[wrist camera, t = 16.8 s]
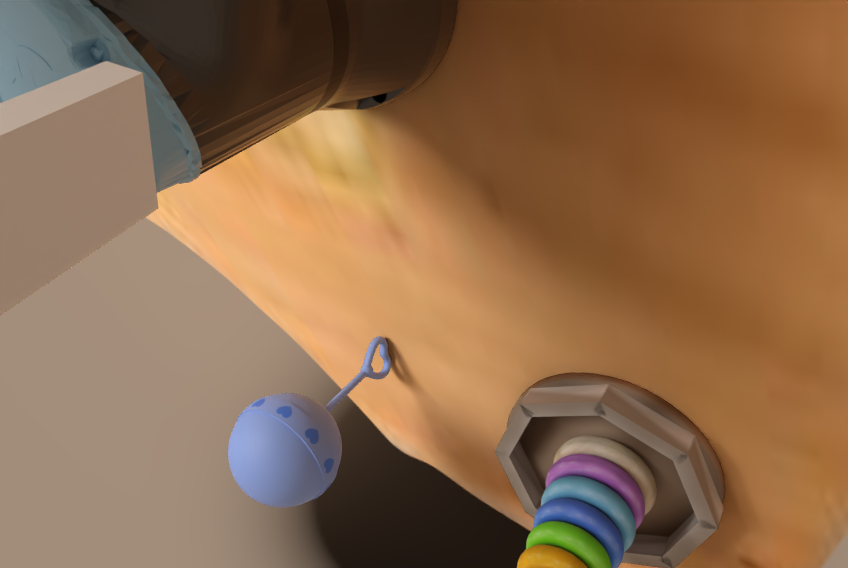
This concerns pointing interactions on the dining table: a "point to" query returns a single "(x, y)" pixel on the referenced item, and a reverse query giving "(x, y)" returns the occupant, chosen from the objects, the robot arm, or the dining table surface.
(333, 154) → the dining table surface
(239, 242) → the dining table surface
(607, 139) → the dining table surface
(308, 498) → the baby rattle
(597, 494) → the stacking toy
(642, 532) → the plate
